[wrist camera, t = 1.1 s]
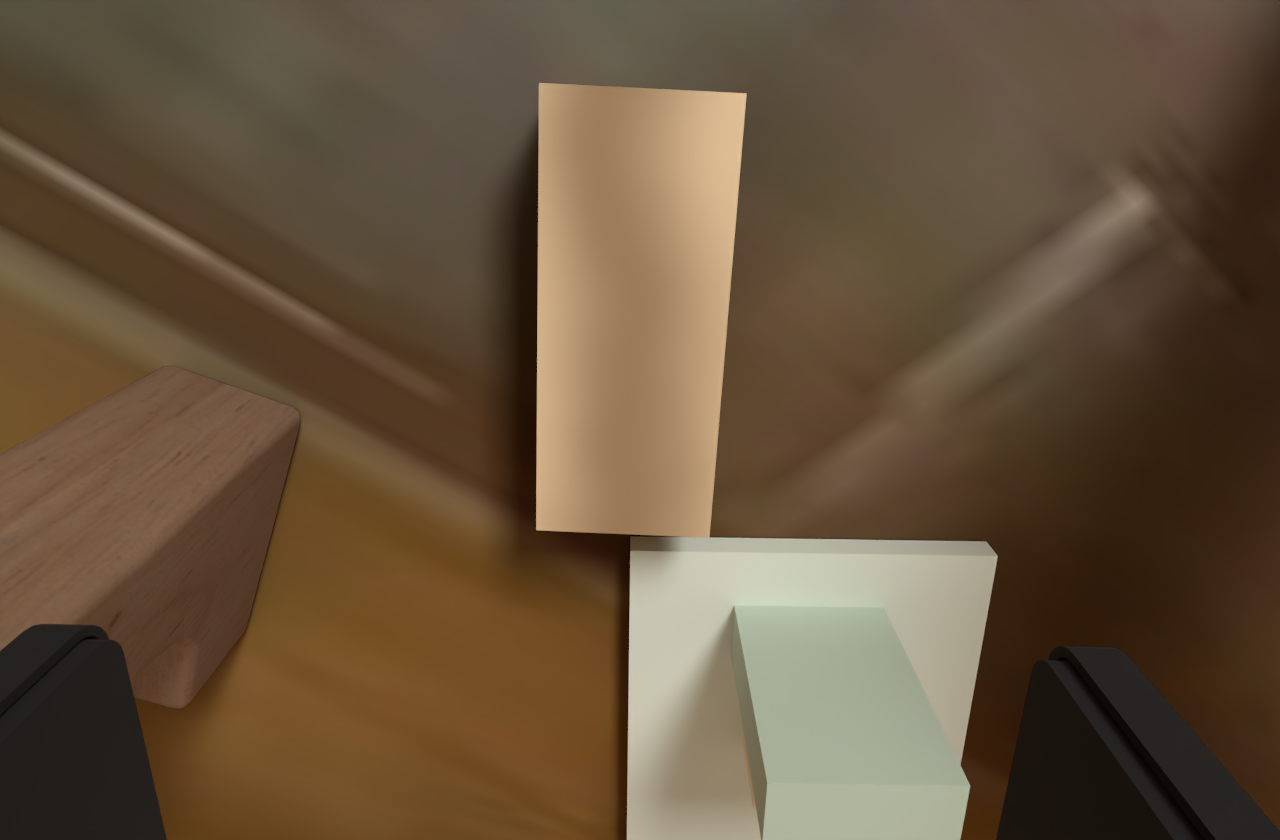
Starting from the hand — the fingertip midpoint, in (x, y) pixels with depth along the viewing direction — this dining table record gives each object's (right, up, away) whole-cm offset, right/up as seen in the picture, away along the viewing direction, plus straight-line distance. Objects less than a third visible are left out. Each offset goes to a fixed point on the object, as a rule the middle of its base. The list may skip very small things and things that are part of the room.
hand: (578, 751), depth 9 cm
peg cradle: (+6, -11, +24) cm, 27 cm away
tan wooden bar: (0, +7, +18) cm, 19 cm away
